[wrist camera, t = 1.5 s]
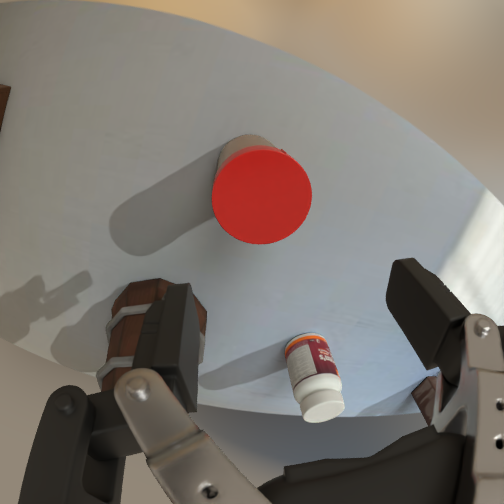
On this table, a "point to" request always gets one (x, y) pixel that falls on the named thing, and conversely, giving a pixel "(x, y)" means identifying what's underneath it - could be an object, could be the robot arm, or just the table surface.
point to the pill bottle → (314, 377)
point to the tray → (3, 100)
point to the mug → (135, 328)
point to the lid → (261, 195)
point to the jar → (241, 146)
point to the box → (426, 397)
